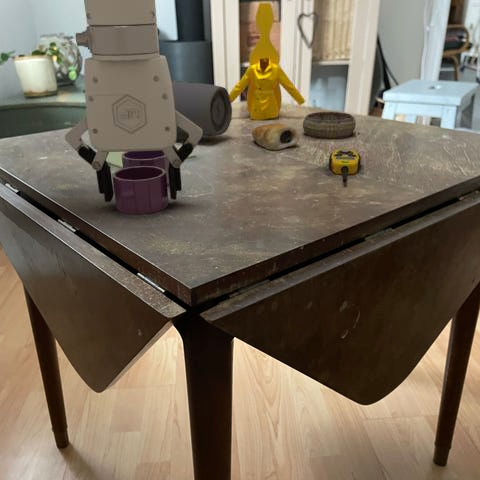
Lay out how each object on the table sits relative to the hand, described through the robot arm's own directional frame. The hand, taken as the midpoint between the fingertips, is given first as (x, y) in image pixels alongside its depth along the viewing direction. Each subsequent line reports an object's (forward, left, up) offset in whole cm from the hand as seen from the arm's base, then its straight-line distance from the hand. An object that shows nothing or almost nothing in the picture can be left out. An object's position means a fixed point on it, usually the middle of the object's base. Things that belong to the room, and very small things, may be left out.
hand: (141, 196), depth 69 cm
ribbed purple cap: (+6, +8, -1) cm, 10 cm away
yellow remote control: (+30, -8, -1) cm, 32 cm away
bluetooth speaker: (+26, +31, -1) cm, 40 cm away
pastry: (+35, +12, -1) cm, 37 cm away
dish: (0, 0, -1) cm, 1 cm away
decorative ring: (+49, +11, -1) cm, 51 cm away
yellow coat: (+52, +32, -1) cm, 61 cm away
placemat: (+14, +22, -1) cm, 26 cm away
